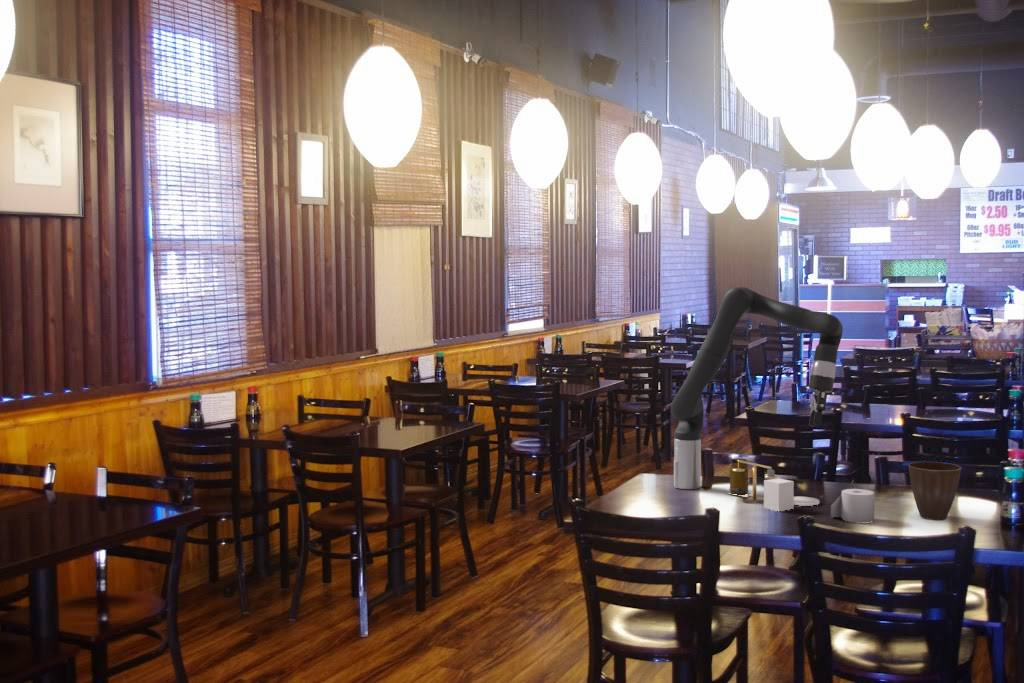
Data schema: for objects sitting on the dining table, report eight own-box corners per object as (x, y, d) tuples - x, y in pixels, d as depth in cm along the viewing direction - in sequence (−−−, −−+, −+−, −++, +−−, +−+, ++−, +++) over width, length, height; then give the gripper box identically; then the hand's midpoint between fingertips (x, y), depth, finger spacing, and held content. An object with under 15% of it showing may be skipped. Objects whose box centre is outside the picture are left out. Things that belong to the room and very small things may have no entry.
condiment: (737, 491, 360) (737, 457, 359) (757, 495, 353) (757, 460, 352) (724, 494, 355) (724, 459, 354) (744, 498, 348) (744, 462, 348)
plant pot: (968, 517, 317) (969, 465, 316) (947, 525, 307) (948, 472, 306) (920, 509, 328) (921, 459, 327) (899, 517, 318) (899, 465, 317)
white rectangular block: (778, 511, 327) (778, 483, 326) (763, 508, 332) (764, 480, 332) (793, 509, 330) (793, 481, 330) (778, 505, 336) (778, 478, 335)
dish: (787, 506, 334) (787, 502, 334) (781, 499, 345) (781, 495, 345) (822, 506, 334) (822, 502, 333) (815, 499, 344) (815, 495, 344)
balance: (733, 502, 341) (733, 461, 340) (731, 499, 346) (731, 458, 345) (778, 503, 340) (778, 461, 339) (775, 499, 345) (775, 458, 344)
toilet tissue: (824, 517, 318) (824, 490, 318) (864, 515, 321) (864, 488, 320) (838, 524, 309) (838, 496, 309) (879, 522, 312) (880, 494, 311)
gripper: (807, 376, 343) (799, 424, 341) (814, 371, 329) (806, 421, 327) (830, 380, 342) (822, 429, 340) (838, 375, 328) (830, 426, 326)
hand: (814, 425), depth 334 cm, fingers open, 8 cm apart
